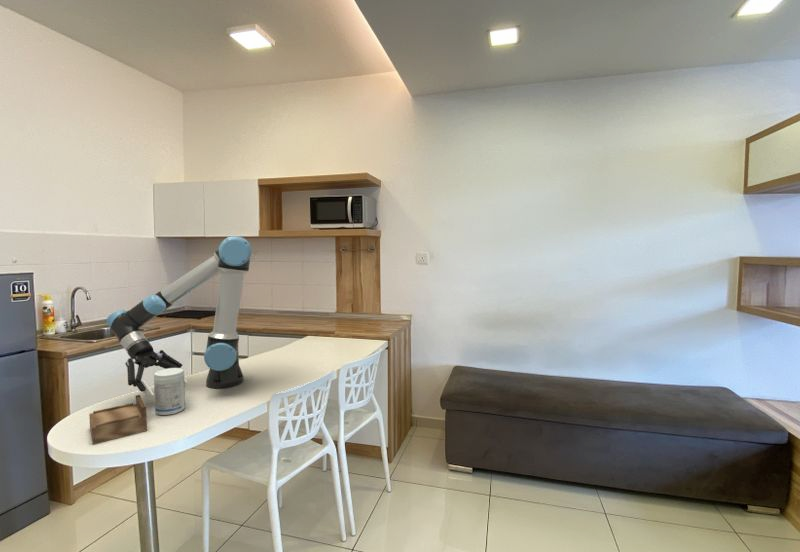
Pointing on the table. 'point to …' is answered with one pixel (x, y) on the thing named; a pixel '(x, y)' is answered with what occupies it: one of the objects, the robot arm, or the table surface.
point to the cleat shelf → (118, 421)
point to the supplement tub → (169, 391)
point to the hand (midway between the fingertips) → (168, 390)
